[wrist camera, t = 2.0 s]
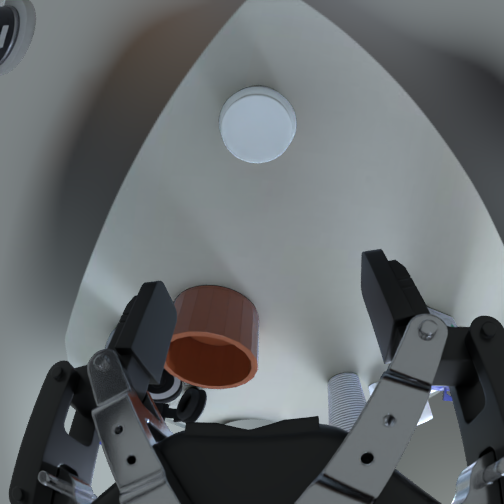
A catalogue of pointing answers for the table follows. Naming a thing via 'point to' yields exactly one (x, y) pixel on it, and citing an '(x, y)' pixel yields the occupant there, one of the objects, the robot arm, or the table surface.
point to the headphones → (169, 391)
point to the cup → (345, 400)
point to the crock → (214, 338)
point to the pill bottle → (257, 124)
